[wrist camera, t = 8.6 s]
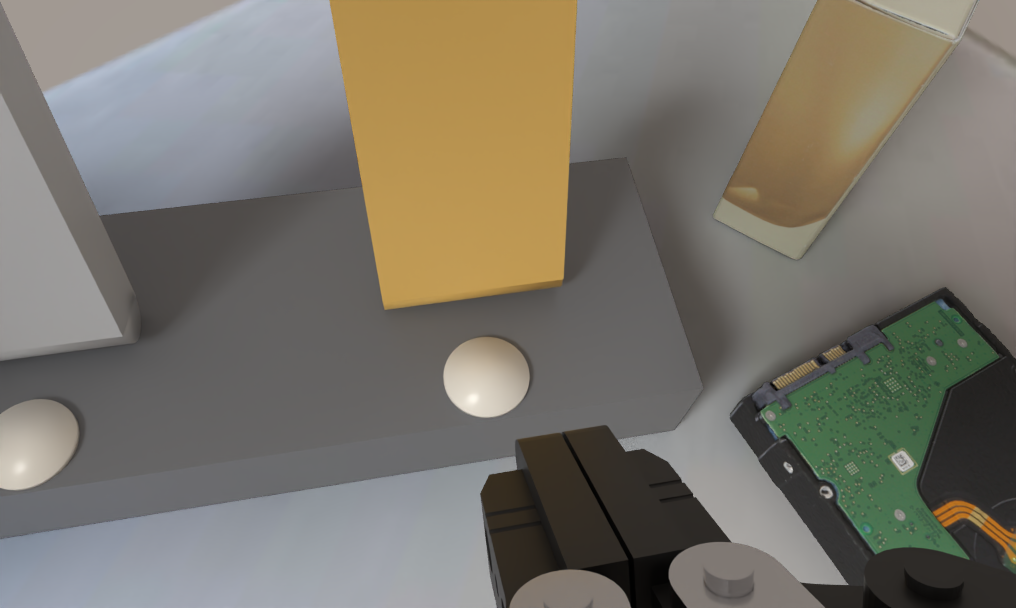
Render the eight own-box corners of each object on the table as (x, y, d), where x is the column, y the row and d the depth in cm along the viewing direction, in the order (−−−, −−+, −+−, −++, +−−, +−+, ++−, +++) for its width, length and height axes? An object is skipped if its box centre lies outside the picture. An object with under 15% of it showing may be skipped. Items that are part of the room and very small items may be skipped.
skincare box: (760, 134, 35) (886, -120, 24) (846, 173, 34) (1016, -73, 23) (705, 223, 32) (820, -20, 22) (797, 269, 31) (964, 38, 21)
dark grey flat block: (-138, 560, 24) (-249, 533, 20) (-75, 300, 29) (-154, 240, 25) (674, 430, 27) (705, 385, 24) (609, 217, 32) (627, 153, 28)
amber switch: (386, 323, 24) (326, -19, 17) (383, 284, 25) (326, -46, 18) (562, 299, 25) (579, -38, 17) (549, 263, 26) (559, -63, 19)
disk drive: (1214, 647, 25) (909, 312, 31) (1296, 641, 22) (947, 278, 28) (1011, 829, 22) (717, 421, 28) (1079, 845, 20) (741, 393, 26)
